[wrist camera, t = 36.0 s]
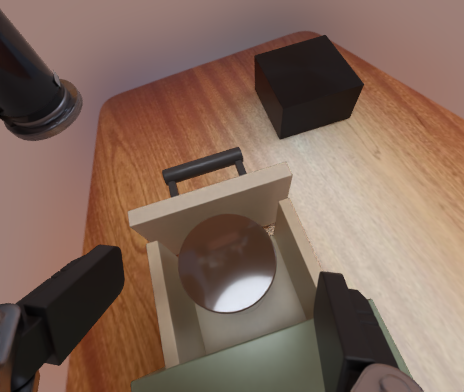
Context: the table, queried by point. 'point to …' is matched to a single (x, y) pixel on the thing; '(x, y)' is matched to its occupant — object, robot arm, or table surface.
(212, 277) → the jar
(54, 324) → the robot arm
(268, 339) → the cabinet
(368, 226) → the table surface
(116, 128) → the table surface
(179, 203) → the drawer
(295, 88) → the stand
